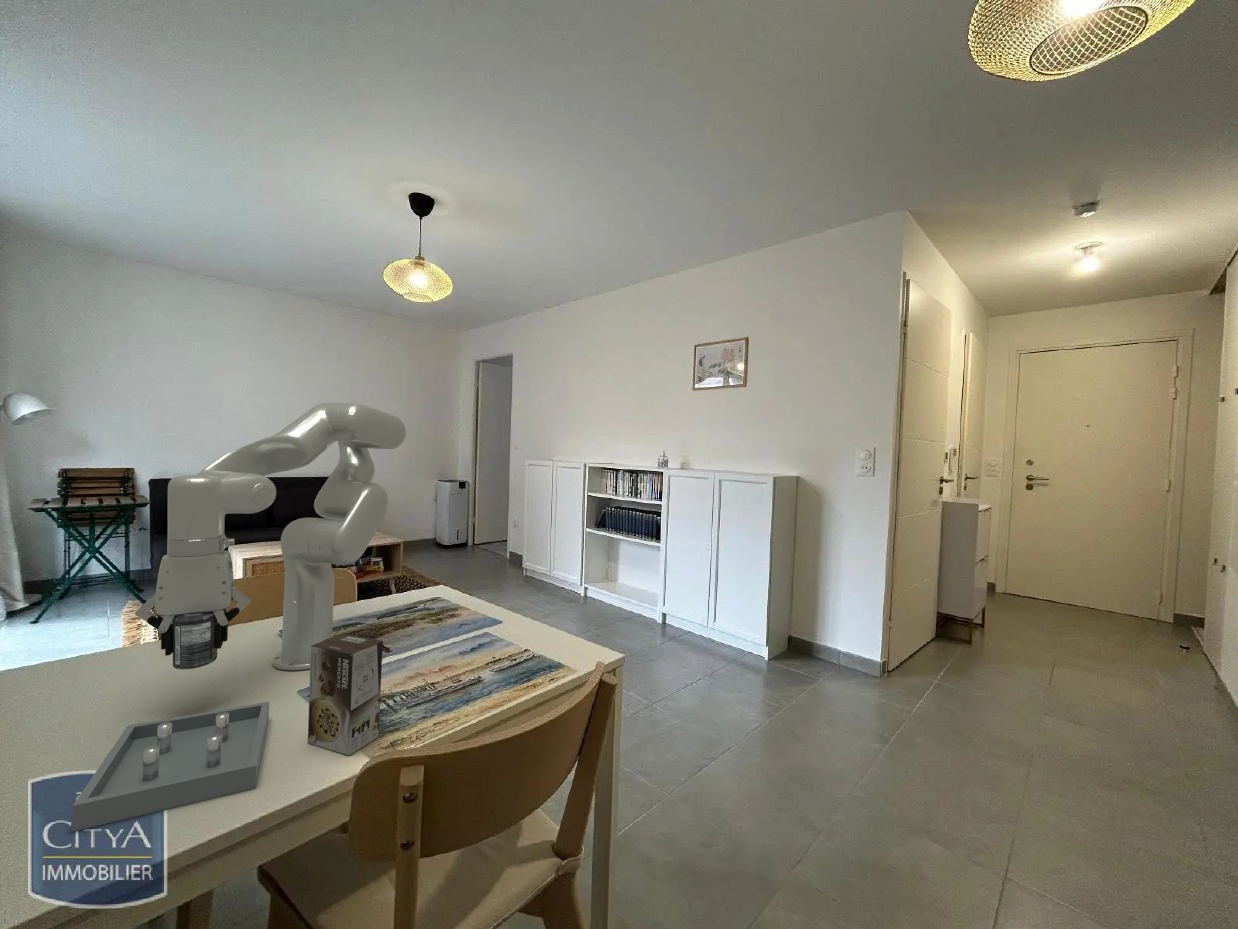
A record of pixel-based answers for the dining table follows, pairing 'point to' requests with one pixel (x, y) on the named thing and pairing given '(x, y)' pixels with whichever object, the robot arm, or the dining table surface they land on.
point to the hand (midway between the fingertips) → (195, 648)
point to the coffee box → (344, 692)
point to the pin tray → (175, 764)
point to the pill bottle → (194, 640)
